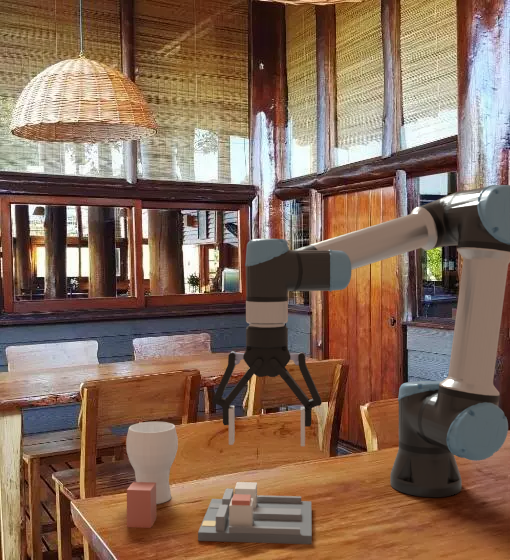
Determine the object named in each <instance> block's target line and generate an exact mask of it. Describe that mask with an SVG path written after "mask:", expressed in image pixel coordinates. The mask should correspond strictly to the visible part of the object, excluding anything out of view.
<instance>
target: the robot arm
mask: <svg viewBox="0 0 510 560" xmlns="http://www.w3.org/2000/svg"><path fill="white" fill-rule="evenodd" d="M448 246H449V247H451V246H457V247H456V251H457V253H458V254H459V255H460V256H461V258H462V260H463V261H462V268H461V276H460V284H459V291H458V297H457V298H458V299H457V307H456V315H455V321H454V330H453V336H452V345H451V352H450V360H449V367H448V375H447V377H446V378H445V379H443V380H422V381H421V380H419V381H410V382H409V381H408V382H404V383H402V384H401V385H400V387H399V388H398V389H399V390H398V398H397V402H398V448H397V449H398V450H397V452H396V457H395V459H394V462H393V465H392V468H391V471H390V474H389V475H390V476H389V477H390V482H389V483H390V486H391V488H393V489H394V490H396V491H397V492H398V491H399V492H401V493H403V494H407V495H409V496H416V497H421V498H444V497H445V498H446V497H451V495H452V496H454V494H455V495H457V494H459V493H460V492H462V488H463V487H462V481H463V480H462V476H461V473H460V469H459V466H458V464H457V460H456V457H458V458H461V459H462V458H463V459H466V460H469V461H473V462H475V461H476V462H477V461H483V460H484V461H485V460H486V459H489V458H491V457H492V456H493V455H494V454H495V453H497V452H498V451H500V449H501V448H502V447H503V445H504V443H505V442H506V439H507V436H508V433H509V423H508V419H507V416H505V412H504V411H503V410H502V408H500V407H499V401H500V391H499V390H498V389H497V387H495V385H494V377H495V369H496V361H497V354H498V347H499V346H498V345H499V339H500V338H499V337H500V330H501V329H500V328H501V323H502V317H503V316H502V315H503V314H502V313H503V307H504V299H505V293H506V284H507V276H508V268H509V264H510V185H509V184H501V185H500V184H498V185H497V184H491V185H487V186H485V187H479V188H473V189H467V190H466V189H465V190H460V191H456V192H454V193H451V194H448V195H445V196H444V197H441V198H439V199H437V200H434V201H431V202H428V203H426V204H423V205H421V206H416V207H414V208H413V209H412V210H411V212H410V214H407V215H404V216H399V217H397V218H393V219H390V220H387V221H384V222H381V223H377V224H375V225H370V226H367V227H364V228H361V229H358V230H355V231H354V230H353V231H352V232H347V233H345V234H341V235H338V236H335V237H334V236H333V237H331V238H328V239H325V240H322V241H321V240H320V241H319V242H315V243H311V244H309V245H306V246H302V247H300V248H295V249H290V248H289V243H288V241H287V239H284V238H253V239H251V240H249V241H248V242H247V244H246V254H245V263H244V266H245V287H246V288H245V289H246V290H245V291H246V298H245V299H246V300H245V322H246V323H247V324H249V325H248V326H246V328H245V352H236V351H234V350H232V351H230V352H229V354H228V359H227V367H226V369H225V371H224V373H223V375H222V378H221V381H220V382H219V385H218V386H217V389H216V392H215V394H214V396H213V398H212V403H213V405H217V406H220V407H221V409H222V424H223V426H228V445H230V446H234V443H235V441H236V440H235V425H236V424H235V417H236V416H235V414H236V413H235V409H236V408H235V405H231V404H233V402H234V401H235V399H236V398H237V396H238V395H239V394H240V393H241V391H242V390H243V388H244V387H245V386H246V385H247V383H248V382H249V381H250V380H251V379H252V377H253V376H254V375H255V376H257V377H258V378H264V377H269V378H276V377H278V376H280V378H281V379H282V380H283V381H284V382H285V383H286V385H287V386H288V387H289V389H290V390H291V392H292V393H293V394H294V395H295V397H297V399H298V401H300V403H301V405H303V406H300V447H306V428H307V427H308V428H309V427H311V426H312V411H313V408H315V407H319V406H321V405H322V402H323V401H322V397H321V396H320V393H319V391H318V388H317V386H316V384H315V381H314V379H313V377H312V375H311V373H310V370H309V369H308V366H307V364H306V353H305V352H304V351H299V352H298V353H296V352H295V353H290V351H289V337H288V336H289V328H288V326H287V325H286V324H287V323H288V322H289V317H288V316H289V312H288V310H289V308H288V307H289V305H288V304H289V295H288V294H289V292H302V291H304V292H327V291H328V292H333V291H342V290H345V289H346V288H347V287H348V286H349V284H350V281H351V279H352V274H353V273H352V272H353V271H352V270H356V269H360V268H361V267H364V266H368V265H371V264H374V263H378V262H381V261H383V260H388V259H390V258H393V257H396V256H399V255H402V254H407V253H409V252H412V251H415V250H418V249H422V250H425V251H430V250H433V249H436V248H442V247H448ZM242 360H243V361H244V362H245V364H246V365H247V366H248V369H247V371H246V372H245V373H244V375H243V376H242V377H241V379H239V381H238V382H237V384H236V385H235V386H234V387H233V389H232V390H231V392H230V393H229V394H228V395H227V396H226V398H225V397H223V396H224V393H225V390H226V389H227V387H228V384H229V381H230V379H231V377H232V375H233V372H234V370H235V367H236V365H237V366H238V365H239V364H240V362H241V361H242ZM290 361H293V364H295V366H298V367H299V371H300V373H301V375H302V377H303V381H304V382H305V385H306V387H307V388H308V391H309V393H310V395H311V398H309V397H308V396H307V395H306V393H305V392H304V391H303V389H302V388H301V386H300V385H299V384H298V383H297V382H296V380H295V379H294V377H293V376H292V375H291V374H290V371H288V369H287V368H286V366H288V364H289V363H290Z"/></svg>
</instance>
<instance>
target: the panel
mask: <svg viewBox="0 0 510 560" xmlns="http://www.w3.org/2000/svg"><path fill="white" fill-rule="evenodd" d="M234 494H235V491H234V488H225V490H224V493H223V496H222V498H211V500H210V502H209V505H208V508H207V510H206V511H205V515H204V517H203V519H202V522H201V524H200V527H199V529H198V531H197V540H198V541H199V542H227V543H229V542H231V543H256V544H257V543H258V544H259V543H263V544H288V545H289V544H293V545H294V544H295V545H297V544H298V545H312V544H313V543H312V541H313V540H312V539H313V538H312V534H313V533H312V530H313V529H312V528H313V527H312V524H313V523H312V500H309V501H308V500H302V496H295V495H294V496H293V495H258V494H257V505H256V508H253V524H252V526H232V525H230V526H229V505H230V502H231V499H232V498H233V495H234Z"/></svg>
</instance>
